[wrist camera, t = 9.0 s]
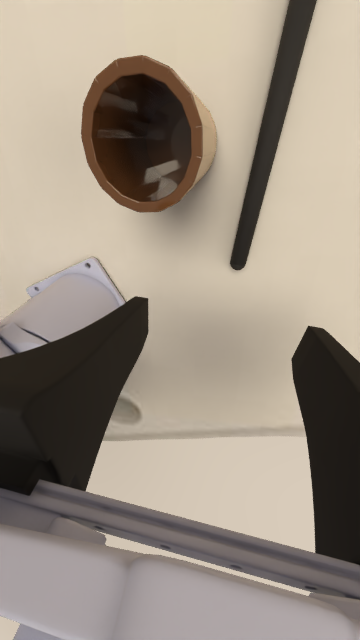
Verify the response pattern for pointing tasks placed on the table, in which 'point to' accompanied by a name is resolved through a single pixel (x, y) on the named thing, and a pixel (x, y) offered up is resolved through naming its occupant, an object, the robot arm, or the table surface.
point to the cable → (272, 122)
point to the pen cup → (146, 134)
